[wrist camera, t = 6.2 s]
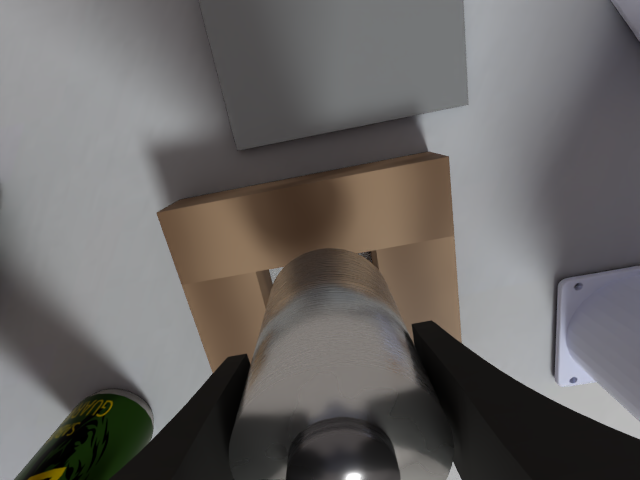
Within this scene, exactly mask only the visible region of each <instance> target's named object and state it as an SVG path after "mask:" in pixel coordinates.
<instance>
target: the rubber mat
mask: <svg viewBox="0 0 640 480" xmlns="http://www.w3.org/2000/svg"><path fill="white" fill-rule="evenodd" d="M198 1H199V5H200V9H201V13H202V16H203V20H204V24H205V28H206V32H207V36H208V40H209V43H210V47H211V51H212V55H213V59H214V63H215V67H216V70H217V74H218V78H219V82H220V86H221V90H222V94H223V97H224V101H225V105H226V109H227V113H228V117H229V121H230V124H231V128H232V132H233V136H234V140H235V144H236V148H237V151H238V150H243V149H248V148H253V147H258V146H263V145H268V144H273V143H278V142H283V141H288V140H293V139H298V138H303V137H308V136H313V135H319V134H324V133H329V132H334V131H339V130H344V129H349V128H354V127H359V126H364V125H369V124H374V123H379V122H384V121H389V120H394V119H399V118H404V117H409V116H414V115H419V114H424V113H429V112H434V111H439V110H444V109H449V108H454V107H459V106H464V105H468V85H467V65H466V44H465V24H464V3H463V0H198Z"/></svg>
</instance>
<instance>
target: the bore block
mask: <svg viewBox="0 0 640 480" xmlns="http://www.w3.org/2000/svg"><path fill="white" fill-rule="evenodd" d="M157 216H158V219H159V221H160V224H161V227H162V230H163V233H164V236H165V238H166V241H167V244H168V247H169V250H170V253H171V256H172V258H173V261H174V264H175V267H176V270H177V273H178V275H179V278H180V281H181V284H182V287H183V290H184V293H185V295H186V298H187V301H188V304H189V307H190V310H191V312H192V315H193V318H194V321H195V324H196V327H197V329H198V332H199V335H200V338H201V341H202V344H203V347H204V349H205V352H206V355H207V358H208V361H209V364H210V366H211V369H212V372H213V373H214V372H215V371H216V369H217V368H218V367H219V366H220V365H221V364H222V363H223V362H224V360H225V359H226V358H227V357H230V356H235V355H241V354H247V355H248V358H249V361H250V365H251V362H252V358H253V354H254V351H255V347H256V343H257V340H258V336H259V332H260V329H261V325H262V321H263V318H264V314H265V310H266V307H267V303H268V299H269V296H270V292H271V289H272V286H273V284H272V280H271V276H270V272H269V269H274V268H279V267H285V266H286V265H287V264H288V263H289V262H291V261H292V260H293V259H295V258H296V257H298V256H300V255H302V254H304V253H307V252H309V251H313V250H317V249H324V248H337V249H344V250H348V251H352V252H354V253H362V252H368V251H371V257H372V264H373V265H374V266H375V267H376V268H377V269H378V270H379V271H380V272H381V274H382V275H383V277H384V279H385V281H386V283H387V285H388V288H389V290H390V292H391V294H392V296H393V299H394V301H395V303H396V305H397V308H398V310H399V312H400V314H401V317H402V319H403V321H404V323H405V326H406V328H407V330H408V332H409V335H410V337H411V339H412V341H413V343H414V339H413V332H412V324H414V323H420V322H425V321H431V320H432V321H433V322H435V323H436V324H437V325H439V326H440V327H441V328H443V329H444V330H445V331H446V332H448V333H449V334H450V335H451V336H453V337H454V338H455V339H457V340H458V341H459V342H461V327H460V312H459V298H458V283H457V269H456V254H455V240H454V225H453V211H452V196H451V182H450V167H449V156H445V155H441V154H436V153H432V152H424V153H418V154H413V155H408V156H403V157H398V158H393V159H387V160H382V161H377V162H372V163H367V164H362V165H356V166H351V167H346V168H341V169H336V170H331V171H325V172H320V173H315V174H310V175H305V176H300V177H294V178H289V179H284V180H279V181H274V182H269V183H263V184H258V185H253V186H248V187H243V188H238V189H232V190H227V191H222V192H217V193H212V194H207V195H201V196H196V197H191V198H186V199H181V200H178V201H177V202H175V203H173V204H171V205H169V206H168V207H166V208H164V209H162V210H160V211H159V212H157ZM461 343H462V342H461Z"/></svg>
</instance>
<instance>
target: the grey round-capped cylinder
mask: <svg viewBox="0 0 640 480" xmlns="http://www.w3.org/2000/svg"><path fill="white" fill-rule="evenodd" d="M453 456H454V441H453V435H452V430H451V428H450V425H449V422H448V420H447V417H446V415H445V413H444V411H443V408H442V406H441V404H440V402H439V399H438V397H437V395H436V393H435V390H434V388H433V386H432V384H431V381H430V379H429V377H428V375H427V373H426V370H425V368H424V366H423V364H422V361H421V359H420V357H419V355H418V352H417V350H416V348H415V346H414V343H413V341H412V339H411V337H410V335H409V332H408V330H407V328H406V326H405V323H404V321H403V319H402V317H401V314H400V312H399V310H398V308H397V305H396V303H395V301H394V299H393V296H392V294H391V292H390V290H389V288H388V285H387V283H386V281H385V279H384V277H383V275H382V274H381V272H380V271H379V270H378V269H377V268H376V267H375V266H374V265H373V264H372V263H371V262H370V261H369V260H367V259H366V258H364V257H363V256H361V255H359V254H357V253H354V252H352V251H348V250H344V249H337V248H324V249H317V250H313V251H309V252H307V253H304V254H302V255H300V256H298V257H296V258H295V259H293V260H292V261H291V262H289V263H288V264H287V265H286V266H285V267H284V268H283V269H282V270H281V272H280V273H279V274H278V276H277V277H276V279H275V281H274V283H273V286H272V289H271V292H270V296H269V299H268V303H267V307H266V310H265V314H264V318H263V321H262V325H261V329H260V332H259V336H258V340H257V343H256V347H255V351H254V354H253V358H252V362H251V365H250V369H249V373H248V376H247V380H246V384H245V387H244V391H243V395H242V398H241V402H240V406H239V409H238V413H237V417H236V420H235V424H234V427H233V431H232V435H231V439H230V443H229V464H230V468H231V472H232V476H233V478H234V480H446V479H447V477H448V475H449V472H450V469H451V466H452V462H453Z"/></svg>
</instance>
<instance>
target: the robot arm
mask: <svg viewBox="0 0 640 480" xmlns="http://www.w3.org/2000/svg"><path fill="white" fill-rule="evenodd" d="M577 283H578V285H577V286H576V287H574V286H575V285H576V284H577ZM412 332H413V339H414V346H415V348H416V350H417V352H418V355H419V357H420V359H421V361H422V364H423V366H424V368H425V370H426V373H427V375H428V377H429V379H430V381H431V384H432V386H433V388H434V390H435V393H436V395H437V397H438V399H439V402H440V404H441V406H442V408H443V411H444V413H445V415H446V417H447V420H448V422H449V425H450V428H451V430H452V435H453V441H454V456H453V462H454V464H455V466H456V468H457V471H458V473H459V475H460V477H461V479H462V480H640V439H637V438H635V437H632V436H630V435H627V434H625V433H623V432H620V431H618V430H615V429H613V428H611V427H608V426H606V425H604V424H602V423H599V422H597V421H595V420H593V419H591V418H588V417H586V416H584V415H582V414H580V413H577V412H575V411H573V410H571V409H569V408H567V407H565V406H563V405H561V404H559V403H557V402H555V401H553V400H551V399H549V398H547V397H545V396H544V395H542V394H540V393H538V392H536V391H534V390H532V389H530V388H529V387H527V386H525V385H523V384H522V383H520V382H518V381H516V380H515V379H513V378H512V377H510V376H508V375H507V374H505V373H504V372H502V371H500V370H499V369H497V368H496V367H494V366H493V365H491V364H490V363H488V362H487V361H485V360H484V359H483V358H481V357H480V356H478V355H477V354H476V353H474V352H473V351H471V350H470V349H469V348H467V347H466V346H464V345H463V344H462V343H461V342H459V341H458V340H457V339H455V338H454V337H453V336H451V335H450V334H449V333H448V332H446V331H445V330H444V329H443V328H441V327H440V326H439V325H437V324H436V323H435V322H433V321H432V320H431V321H425V322H420V323H414V324H412ZM249 369H250V361H249V358H248V355H247V354H241V355H235V356H230V357H227V358H226V359H225V360H224V362H223V363H222V364H221V365H220V366H219V367H218V368H217V369H216V371H215V372H214V373H213V374H212V375H211V376H210V377H209V379H208V380H207V381H206V382H205V383H204V384H203V386H202V387H201V388H200V389H199V390H198V391H197V392H196V394H195V395H194V396H193V397H192V398H191V399H190V400H189V402H188V403H187V404H186V405H185V406H184V407H183V408H182V409H181V410H180V411H179V412H178V413H177V414H176V416H175V417H174V418H173V419H172V420H171V421H170V422H169V423H168V424H167V425H166V426H165V427H164V428H163V429H162V430H161V431H160V432H159V433H158V434H157V435H156V436H155V437H154V438H153V439H152V440H151V441H150V442H149V443H148V444H147V445H146V446H145V447H144V448H143V449H142V450H141V451H140V452H139V453H138V454H137V455H136V456H135V457H133V458H132V459H131V460H130V461H129V462H128V463H127V464H126V465H125V466H123V467H122V468H121V469H120V470H119V471H118V472H117V473H116V474H114V475H113V476H112V477H111V478H110V479H108V480H234V478H233V476H232V472H231V468H230V464H229V443H230V439H231V435H232V431H233V427H234V424H235V420H236V417H237V413H238V409H239V406H240V402H241V398H242V395H243V391H244V387H245V384H246V380H247V376H248V373H249ZM555 381H556V383H557V384H558V385H559V386H561V387H568V386H574V385H580V384H587V383H593V382H597V383H598V384H599V385H600V386H602V387H603V388H604V389H605V390H606V391H607V392H608V393H609V394H610V395H611V396H612V397H613V398H615V399H616V400H617V401H618V402H619V403H620V404H621V405H622V406H623V407H624V408H625V409H626V410H628V411H629V412H630V413H631V414H632V415H633V416H634V417H635V418H636V419H637V420H638V421H640V266H634V267H628V268H623V269H617V270H611V271H605V272H599V273H594V274H588V275H582V276H576V277H570V278H565V279H563V280H562V281H560V283H559V284H558V296H557V326H556V355H555Z"/></svg>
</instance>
